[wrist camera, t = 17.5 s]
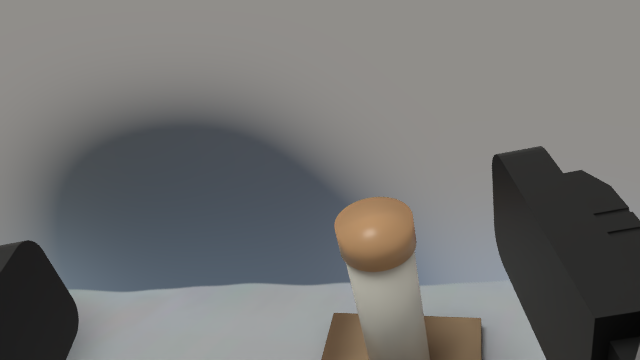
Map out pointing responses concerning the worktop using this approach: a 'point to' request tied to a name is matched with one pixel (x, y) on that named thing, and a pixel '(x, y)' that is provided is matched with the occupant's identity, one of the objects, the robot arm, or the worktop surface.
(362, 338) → the pad
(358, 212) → the plug
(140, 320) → the worktop surface
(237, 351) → the worktop surface
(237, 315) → the worktop surface
